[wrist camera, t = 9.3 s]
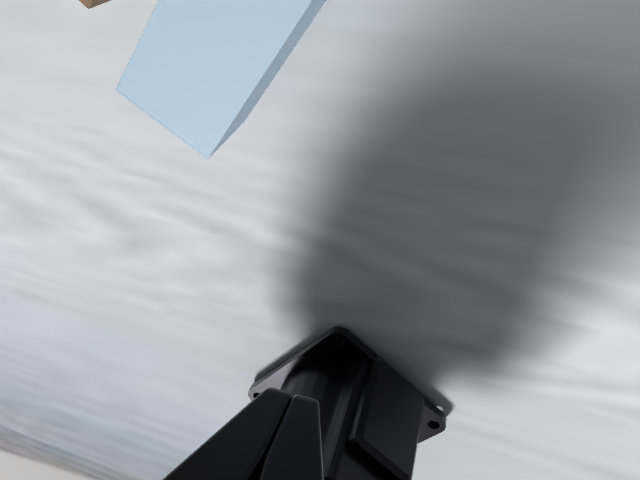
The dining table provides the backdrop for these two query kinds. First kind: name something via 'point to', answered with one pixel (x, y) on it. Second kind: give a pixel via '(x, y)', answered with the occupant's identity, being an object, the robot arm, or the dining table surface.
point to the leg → (211, 63)
